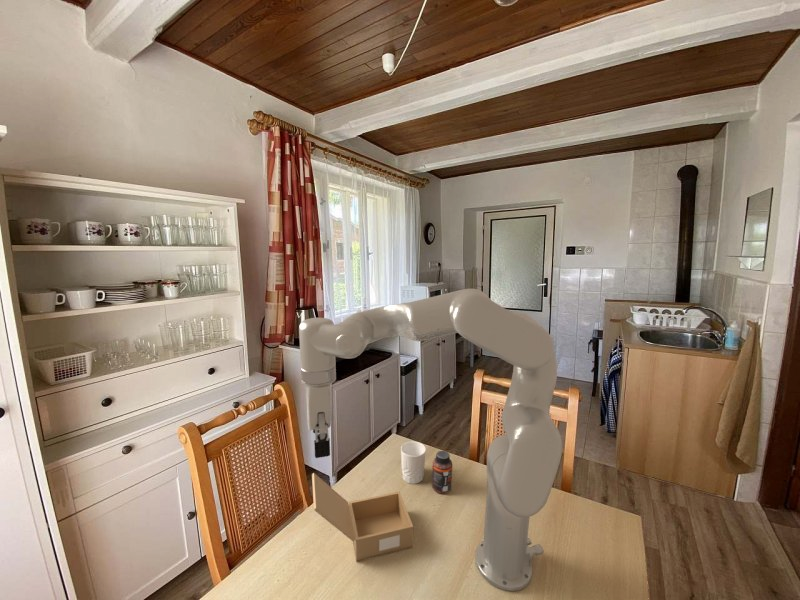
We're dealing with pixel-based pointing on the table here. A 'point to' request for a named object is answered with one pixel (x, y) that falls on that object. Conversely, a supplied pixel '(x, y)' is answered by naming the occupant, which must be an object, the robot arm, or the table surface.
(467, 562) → the table surface
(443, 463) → the supplement bottle
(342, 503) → the cardboard box lid
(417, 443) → the white cup
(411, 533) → the carton
